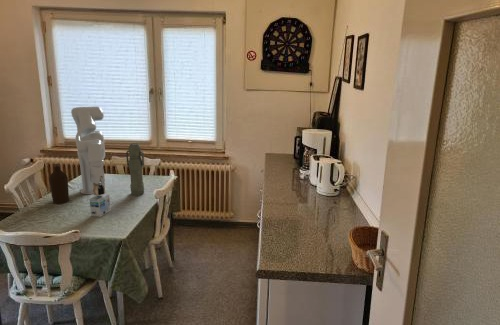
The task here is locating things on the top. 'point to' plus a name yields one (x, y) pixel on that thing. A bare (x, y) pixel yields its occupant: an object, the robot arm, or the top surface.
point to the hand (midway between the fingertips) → (99, 192)
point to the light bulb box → (100, 205)
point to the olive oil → (59, 186)
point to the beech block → (96, 189)
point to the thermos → (135, 169)
